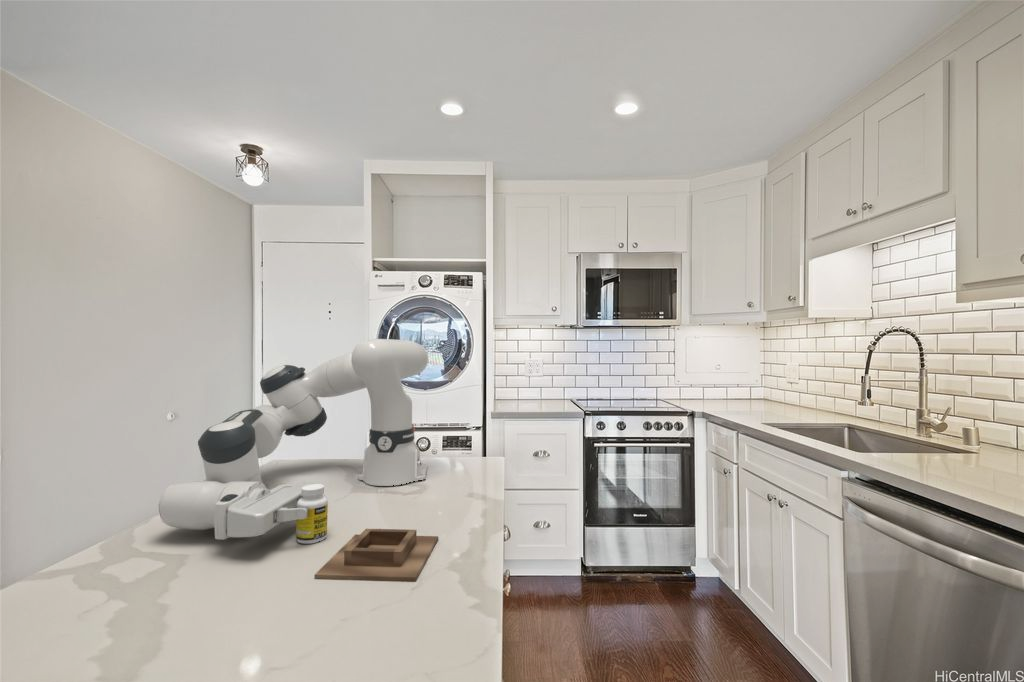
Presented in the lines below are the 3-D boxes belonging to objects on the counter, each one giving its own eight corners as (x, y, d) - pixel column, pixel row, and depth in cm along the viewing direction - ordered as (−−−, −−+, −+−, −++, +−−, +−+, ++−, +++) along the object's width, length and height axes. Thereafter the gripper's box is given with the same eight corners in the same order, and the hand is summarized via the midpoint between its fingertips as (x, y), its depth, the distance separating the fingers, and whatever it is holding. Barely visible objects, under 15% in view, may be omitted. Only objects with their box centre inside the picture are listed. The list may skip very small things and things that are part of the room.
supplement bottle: (315, 545, 84) (316, 491, 85) (289, 543, 85) (290, 490, 86) (333, 534, 90) (333, 483, 90) (308, 532, 91) (308, 482, 91)
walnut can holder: (355, 537, 88) (355, 521, 88) (438, 539, 87) (438, 523, 87) (314, 578, 72) (314, 559, 72) (415, 581, 71) (415, 561, 71)
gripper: (277, 504, 99) (340, 505, 98) (208, 543, 78) (287, 545, 78) (277, 474, 99) (340, 475, 98) (209, 506, 79) (288, 507, 78)
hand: (316, 506), depth 88 cm, fingers closed on supplement bottle, 5 cm apart
